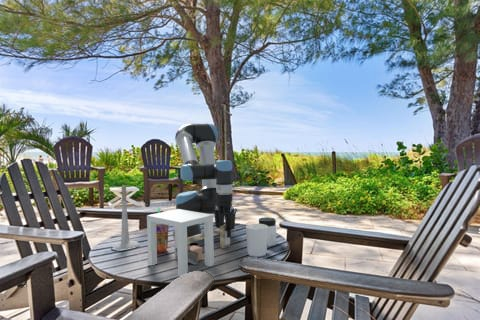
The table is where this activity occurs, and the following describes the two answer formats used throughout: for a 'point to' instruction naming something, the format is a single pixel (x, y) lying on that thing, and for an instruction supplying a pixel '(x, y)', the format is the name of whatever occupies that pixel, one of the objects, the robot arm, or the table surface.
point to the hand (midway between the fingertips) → (225, 243)
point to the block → (197, 249)
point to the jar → (270, 229)
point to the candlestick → (124, 226)
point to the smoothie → (161, 236)
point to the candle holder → (256, 239)
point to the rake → (194, 256)
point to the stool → (180, 235)
